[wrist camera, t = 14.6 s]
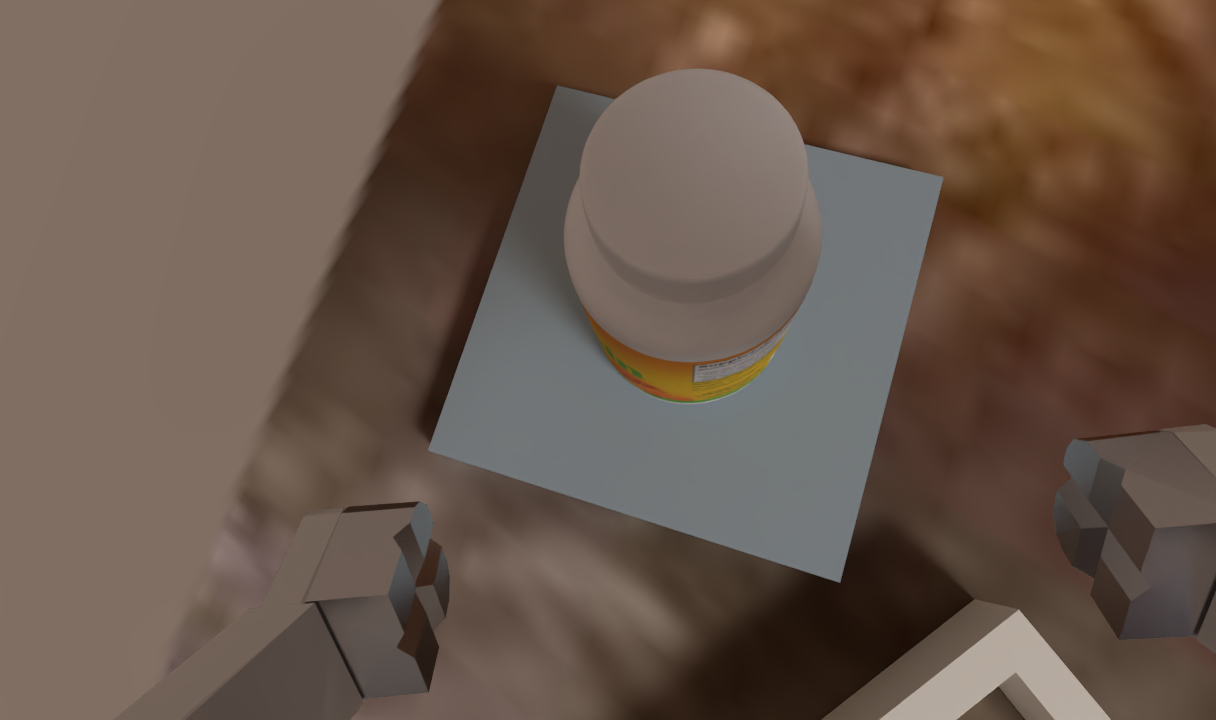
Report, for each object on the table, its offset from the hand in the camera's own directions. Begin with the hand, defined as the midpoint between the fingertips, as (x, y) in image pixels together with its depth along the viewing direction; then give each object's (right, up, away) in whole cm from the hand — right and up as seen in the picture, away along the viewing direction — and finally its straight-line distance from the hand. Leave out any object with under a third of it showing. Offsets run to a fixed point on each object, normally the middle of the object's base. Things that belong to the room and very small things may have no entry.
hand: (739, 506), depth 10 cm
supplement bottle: (+1, +3, +13) cm, 13 cm away
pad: (+1, +3, +14) cm, 14 cm away
